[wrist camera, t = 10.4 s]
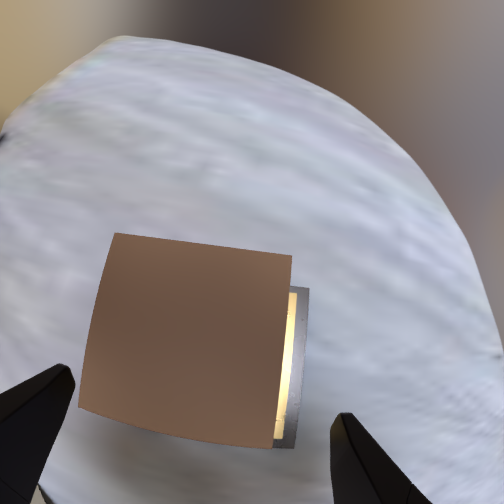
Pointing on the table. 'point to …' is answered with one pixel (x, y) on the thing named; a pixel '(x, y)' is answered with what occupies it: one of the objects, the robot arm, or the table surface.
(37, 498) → the wall
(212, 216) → the table surface
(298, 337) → the gold square frame
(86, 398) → the rail post
